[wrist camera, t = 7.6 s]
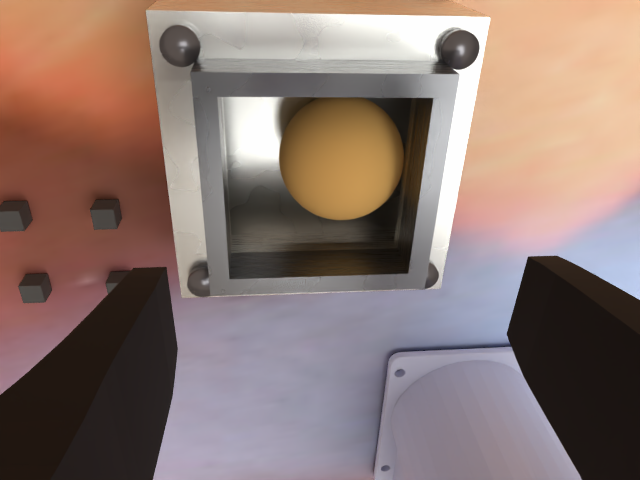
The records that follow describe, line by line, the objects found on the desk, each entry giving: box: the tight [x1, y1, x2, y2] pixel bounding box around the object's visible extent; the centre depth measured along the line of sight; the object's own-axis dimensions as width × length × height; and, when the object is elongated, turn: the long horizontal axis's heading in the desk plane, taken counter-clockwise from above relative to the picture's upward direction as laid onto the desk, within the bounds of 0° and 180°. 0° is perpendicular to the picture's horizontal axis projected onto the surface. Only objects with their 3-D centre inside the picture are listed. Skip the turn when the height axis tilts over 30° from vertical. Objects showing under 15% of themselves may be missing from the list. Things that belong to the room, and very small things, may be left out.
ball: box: [279, 97, 404, 220], centre depth 17 cm, size 4×4×4 cm
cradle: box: [0, 200, 130, 303], centre depth 20 cm, size 4×4×1 cm
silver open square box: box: [146, 0, 490, 298], centre depth 17 cm, size 9×9×5 cm
